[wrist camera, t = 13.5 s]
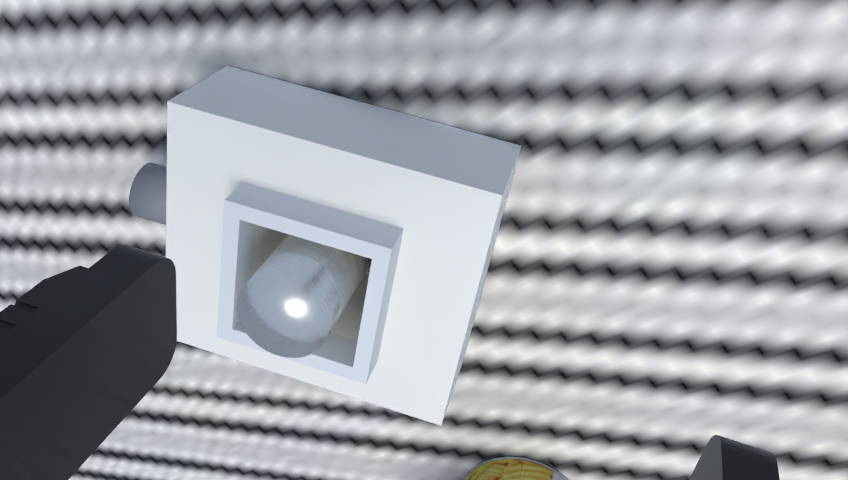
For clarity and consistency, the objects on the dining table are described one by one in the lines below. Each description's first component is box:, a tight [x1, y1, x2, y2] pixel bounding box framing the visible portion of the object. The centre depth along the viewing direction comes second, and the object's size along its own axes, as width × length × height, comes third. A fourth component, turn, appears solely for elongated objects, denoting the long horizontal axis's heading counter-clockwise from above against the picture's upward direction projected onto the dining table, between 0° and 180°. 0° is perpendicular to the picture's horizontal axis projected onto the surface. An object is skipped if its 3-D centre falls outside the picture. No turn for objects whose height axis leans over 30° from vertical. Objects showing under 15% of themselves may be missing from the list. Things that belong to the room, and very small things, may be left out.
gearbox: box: [129, 66, 521, 425], centre depth 40 cm, size 19×14×8 cm
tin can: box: [236, 234, 372, 358], centre depth 39 cm, size 4×4×10 cm
